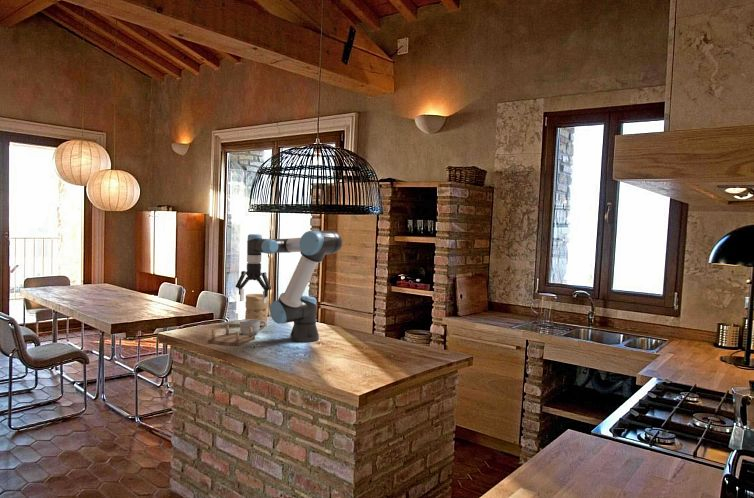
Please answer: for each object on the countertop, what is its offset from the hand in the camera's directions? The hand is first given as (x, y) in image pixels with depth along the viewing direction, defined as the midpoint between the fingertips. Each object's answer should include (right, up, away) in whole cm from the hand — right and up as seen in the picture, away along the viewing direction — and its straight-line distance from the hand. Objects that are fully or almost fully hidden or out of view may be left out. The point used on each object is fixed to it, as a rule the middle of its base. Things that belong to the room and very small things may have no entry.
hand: (253, 301), depth 299 cm
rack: (-7, -19, -16) cm, 26 cm away
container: (-4, -17, +26) cm, 31 cm away
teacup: (0, -18, +1) cm, 18 cm away
